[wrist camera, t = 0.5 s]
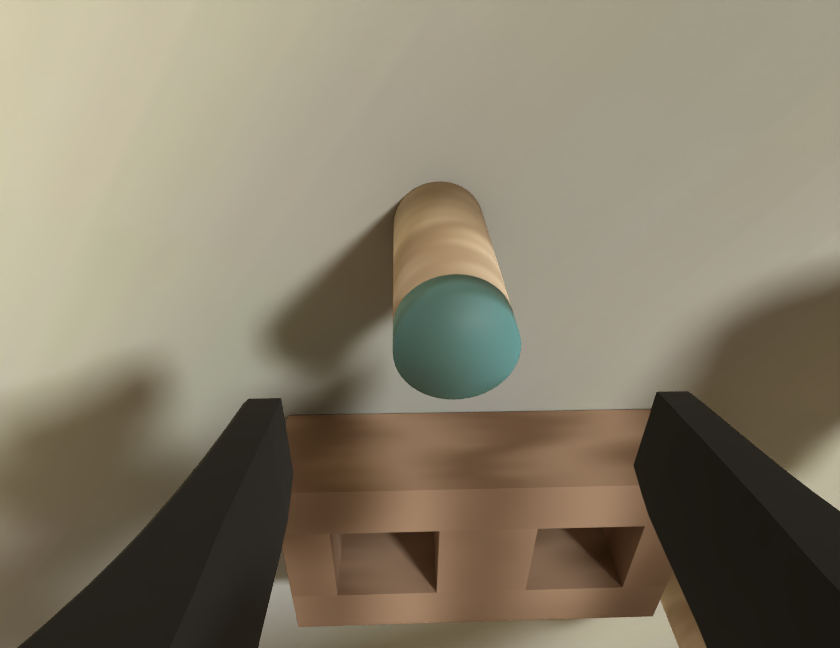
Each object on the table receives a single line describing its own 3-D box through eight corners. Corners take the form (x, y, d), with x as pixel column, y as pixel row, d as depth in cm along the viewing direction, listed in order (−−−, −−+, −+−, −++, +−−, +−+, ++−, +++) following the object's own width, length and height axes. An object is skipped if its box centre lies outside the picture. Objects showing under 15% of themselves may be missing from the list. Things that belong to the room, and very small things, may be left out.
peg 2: (709, 536, 30) (786, 683, 24) (693, 570, 31) (761, 715, 25) (652, 538, 29) (715, 685, 24) (639, 572, 31) (694, 717, 25)
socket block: (668, 408, 24) (711, 483, 21) (623, 539, 29) (652, 616, 26) (288, 415, 24) (270, 493, 20) (309, 547, 29) (298, 626, 26)
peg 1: (486, 181, 18) (528, 295, 13) (479, 264, 20) (514, 398, 14) (392, 181, 18) (391, 296, 13) (394, 265, 20) (394, 400, 14)
